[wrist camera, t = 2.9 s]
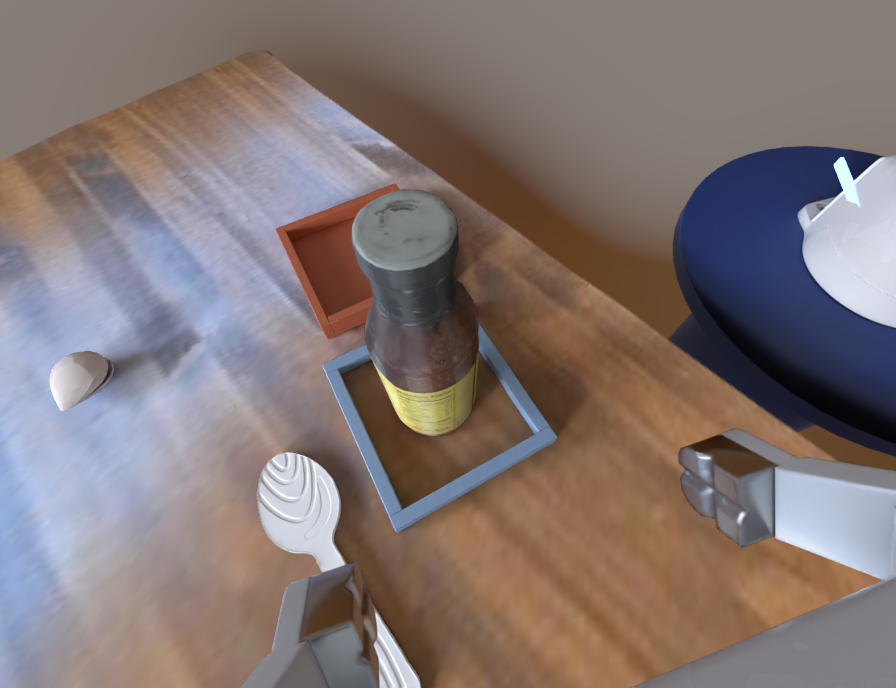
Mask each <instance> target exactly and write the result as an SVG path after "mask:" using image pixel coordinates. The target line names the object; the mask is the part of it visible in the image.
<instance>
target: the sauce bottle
mask: <svg viewBox="0 0 896 688" xmlns="http://www.w3.org/2000/svg"><path fill="white" fill-rule="evenodd" d="M351 236H352V245H353V248H354V251H355V255H356V259H357V262H358V265H359V267H360V268H361V269H362V271H363V273H364V274H365V275H366V276H367V277H368V278H369V281H370V285H371V287H372V296H373V300H372V303H371V306H370V310H369V313H368V316H367V320H366V325H365V341H366V345H367V349H368V352H369V355H370V357H371V359H372V361H373V363H374V366H375V368H376V369H377V372H378V374H379V376H380V378H381V380H382V383H383V385H384V387H385V389H386V391H387V393H388V396H389V398H390V400H391V402H392V404H393V406H394V408H395V411H396V413H397V414H398V416H399V418H400V419H401V420H402V421H403V423H404V424H406V425H407V426H408V427H410V428H411V429H412V430H414V431H415V432H416V433H418V434H421V435H426V436H441V435H448V434H451V433H453V432H454V431H455V430H457V429H458V428H459V427H461V425H462V424H463V423H464V422H465V421H466V419H467V418H468V416H469V415H470V413H471V412H472V408H473V405H474V401H475V395H476V383H477V368H478V355H479V335H478V328H479V325H478V322H479V319H478V313H477V310H476V306H475V304H474V302H473V300H472V298H471V296H470V295H469V293H468V292H467V291H466V289H465V287H464V286H463V284H462V283H460V282H458V281H457V280H456V277H455V259H456V257H457V253H458V241H459V235H458V223H457V219H456V216H455V214H454V213H453V212H452V210H451V208H450V207H449V206H448V205H447V204H446V203H445V202H444V200H442V199H441V198H439V197H437V196H435V195H433V194H430V193H428V192H425V191H420V190H404V189H403V190H398V191H394V192H390V193H387V194H385V195H382V196H380V197H378V198H377V199H375V200H373V201H371V202H369V203H367V204H366V205H365V207H363V208H362V209H361V210H360V211H359V212H358V214H357V216H356V217H355V219H354V222H353V225H352V235H351Z"/></svg>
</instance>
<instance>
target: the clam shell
mask: <svg viewBox="0 0 896 688" xmlns="http://www.w3.org/2000/svg"><path fill="white" fill-rule="evenodd" d="M113 373H114V368H113V364H112V363H111V361H110V360H108V359H107V358H105V357H103V356H102V355H100V354H99V353H96V352H91V351H84V352H77V353H73V354H70V355H68V356H67V357H65V358H63V359H62V360H60V361H59V362H58V363H56V365H55V366H54V368H53V369H52V371H51V375H50V387H51V390H52V394H53V396H54V399H55V401H56V403H57V404H58V406H59V408H60V410H61V411H67V410H69V409H70V408H72V407H74V406H76V405H77V404H79V403H81V402H83V401H84V400H86V399H88V398H90V397H91V396H93V395H94V394H96V393H98V392H99V391H100V390H101V389H103V388H104V387H105V386H106V385H107V384H108V383H109V381H110V380H111V378H112V376H113Z"/></svg>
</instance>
